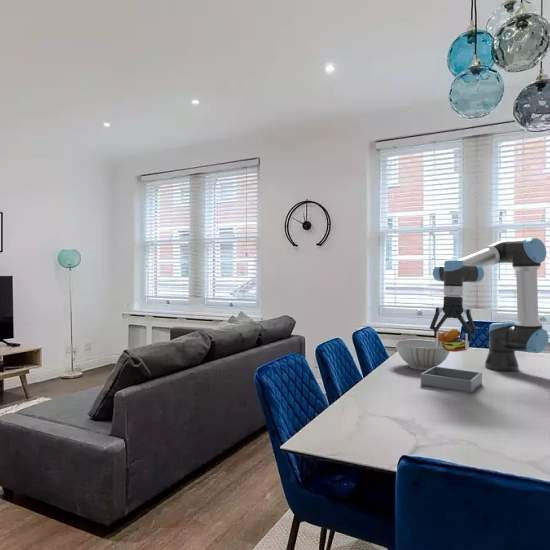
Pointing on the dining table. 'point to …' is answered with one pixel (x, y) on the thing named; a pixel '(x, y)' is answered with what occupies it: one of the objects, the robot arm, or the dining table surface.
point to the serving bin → (451, 379)
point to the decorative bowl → (421, 353)
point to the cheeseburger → (452, 341)
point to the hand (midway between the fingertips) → (452, 347)
